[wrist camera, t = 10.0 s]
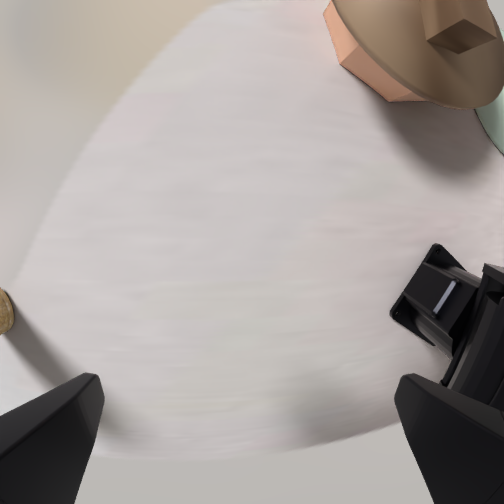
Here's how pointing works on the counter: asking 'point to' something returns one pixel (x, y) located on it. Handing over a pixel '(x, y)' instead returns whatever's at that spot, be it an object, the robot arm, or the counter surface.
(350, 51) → the terracotta bowl
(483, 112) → the sage mat
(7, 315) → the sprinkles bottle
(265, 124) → the counter surface
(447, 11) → the walnut lid
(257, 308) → the counter surface
